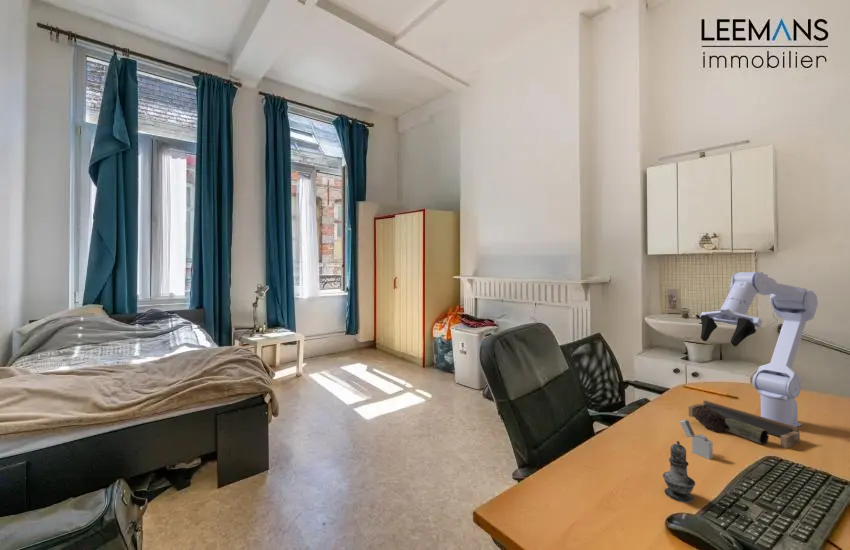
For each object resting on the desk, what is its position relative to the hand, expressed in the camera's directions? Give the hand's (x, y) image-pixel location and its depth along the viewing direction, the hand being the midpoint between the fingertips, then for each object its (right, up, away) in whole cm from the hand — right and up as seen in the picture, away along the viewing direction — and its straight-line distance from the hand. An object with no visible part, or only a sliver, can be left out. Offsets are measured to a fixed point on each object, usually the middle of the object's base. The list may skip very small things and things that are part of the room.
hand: (717, 341), depth 103 cm
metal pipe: (+7, -29, +6) cm, 30 cm away
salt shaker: (-28, -29, -24) cm, 48 cm away
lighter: (-11, -29, -6) cm, 32 cm away
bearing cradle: (+14, -28, +8) cm, 33 cm away
